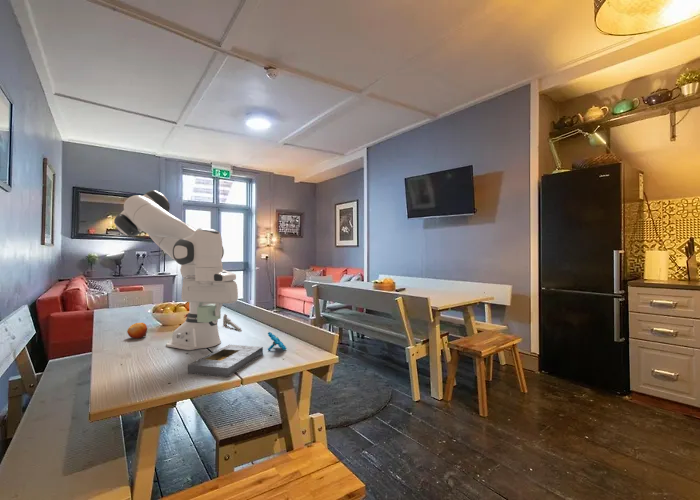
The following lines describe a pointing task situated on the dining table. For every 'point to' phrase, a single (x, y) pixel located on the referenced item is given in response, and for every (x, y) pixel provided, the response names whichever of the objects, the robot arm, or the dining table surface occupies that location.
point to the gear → (276, 342)
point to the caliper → (230, 323)
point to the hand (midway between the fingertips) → (209, 315)
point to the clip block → (207, 313)
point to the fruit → (137, 330)
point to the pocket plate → (225, 360)
